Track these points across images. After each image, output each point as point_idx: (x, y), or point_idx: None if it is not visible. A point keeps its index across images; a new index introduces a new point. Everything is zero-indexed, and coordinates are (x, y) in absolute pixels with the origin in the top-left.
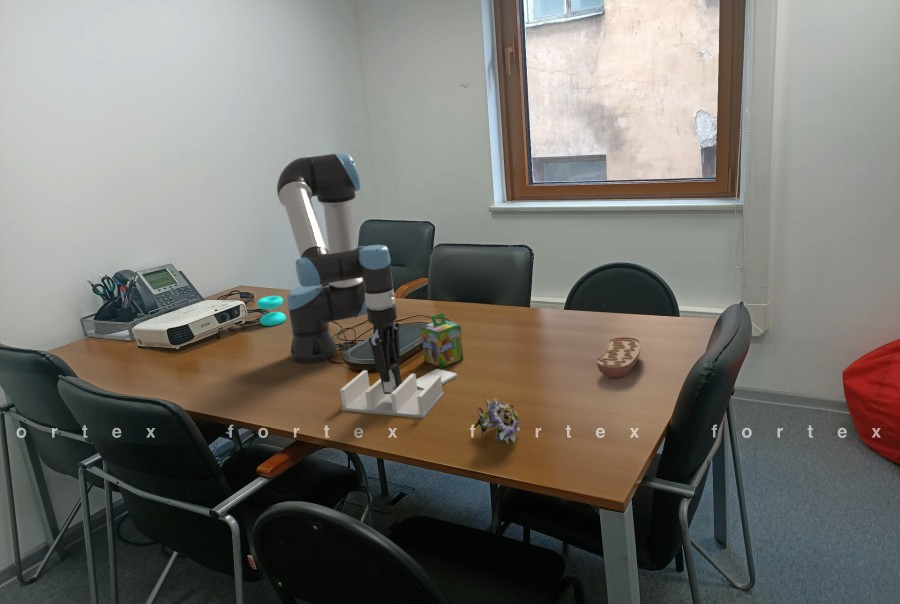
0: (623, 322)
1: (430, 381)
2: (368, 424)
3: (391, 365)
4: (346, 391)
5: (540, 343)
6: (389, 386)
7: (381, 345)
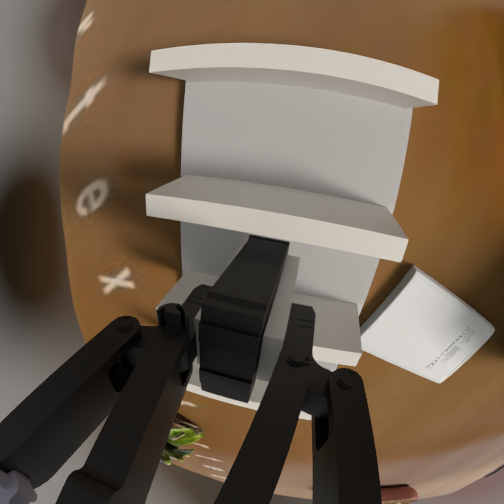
0: (491, 465)
1: (412, 341)
2: (126, 207)
3: (214, 381)
4: (175, 72)
5: (497, 434)
6: None
7: (47, 474)
